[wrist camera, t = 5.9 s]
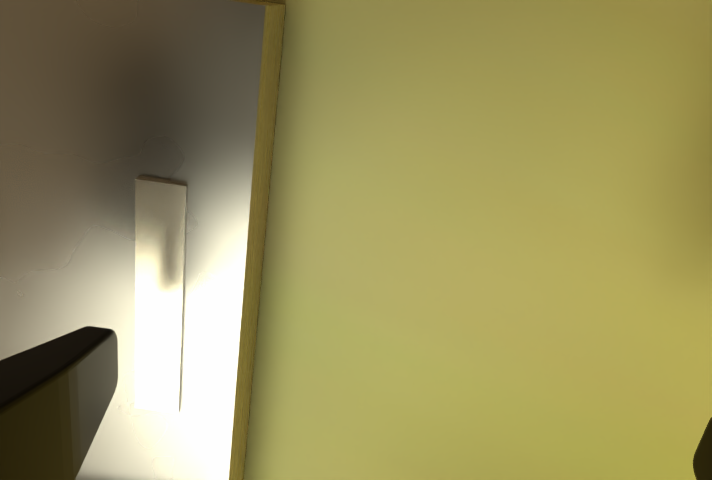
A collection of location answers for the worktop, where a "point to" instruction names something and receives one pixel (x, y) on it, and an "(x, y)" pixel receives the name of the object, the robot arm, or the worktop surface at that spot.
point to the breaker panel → (142, 211)
